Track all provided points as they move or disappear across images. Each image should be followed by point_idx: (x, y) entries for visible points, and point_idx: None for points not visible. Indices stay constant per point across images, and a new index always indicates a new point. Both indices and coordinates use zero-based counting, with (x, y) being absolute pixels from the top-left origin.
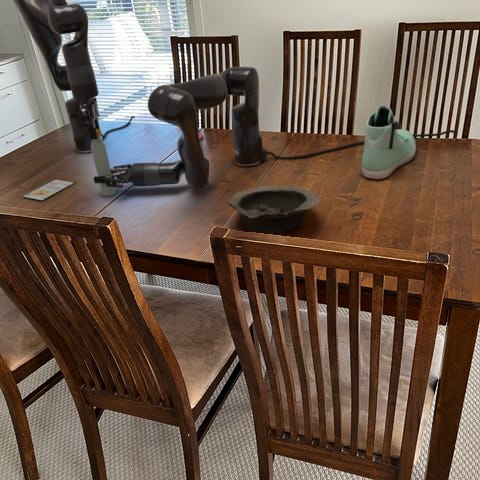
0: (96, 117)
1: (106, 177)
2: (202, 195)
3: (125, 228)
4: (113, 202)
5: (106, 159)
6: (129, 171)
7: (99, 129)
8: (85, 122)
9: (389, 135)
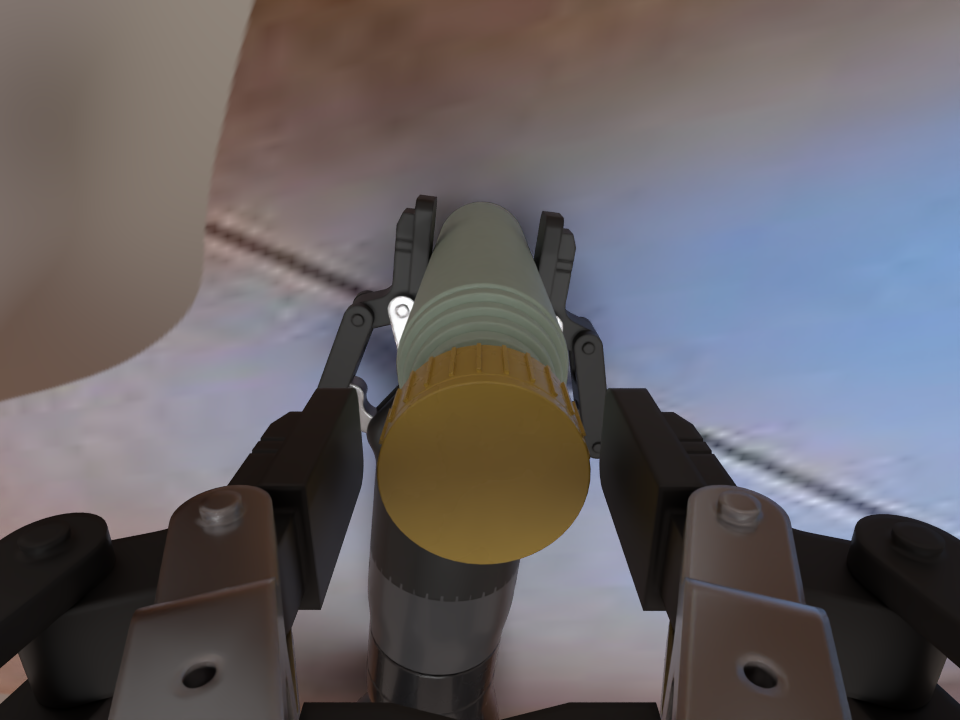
0: (663, 690)
1: (388, 312)
2: (360, 687)
3: (33, 400)
4: (342, 295)
5: None
6: None
7: (521, 547)
8: (8, 640)
9: None
